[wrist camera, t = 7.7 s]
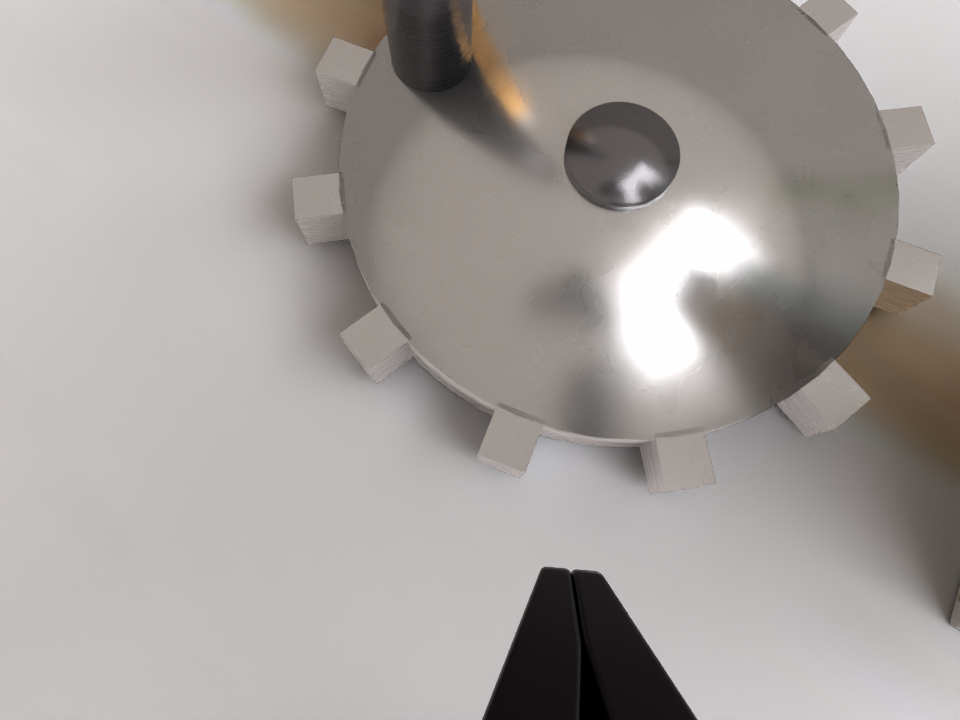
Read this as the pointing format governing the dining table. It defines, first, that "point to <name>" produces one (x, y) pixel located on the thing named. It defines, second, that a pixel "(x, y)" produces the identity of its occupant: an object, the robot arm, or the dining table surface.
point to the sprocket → (618, 215)
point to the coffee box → (956, 612)
